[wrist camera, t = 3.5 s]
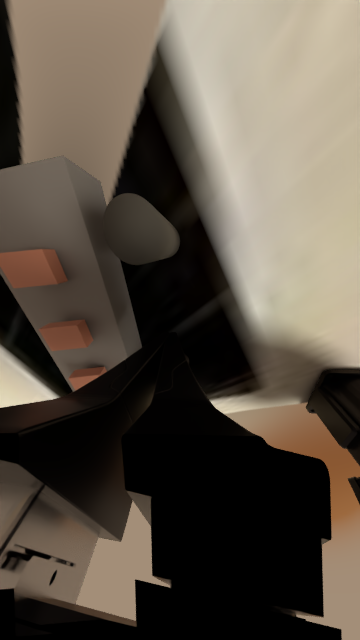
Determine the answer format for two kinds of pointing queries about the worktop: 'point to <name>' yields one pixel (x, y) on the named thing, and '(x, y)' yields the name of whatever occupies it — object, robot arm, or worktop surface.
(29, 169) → the power strip
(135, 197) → the peg
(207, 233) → the worktop surface
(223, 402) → the worktop surface
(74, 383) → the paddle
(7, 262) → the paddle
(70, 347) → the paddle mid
